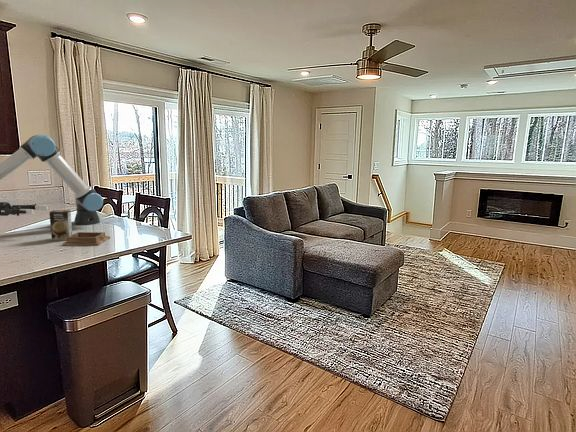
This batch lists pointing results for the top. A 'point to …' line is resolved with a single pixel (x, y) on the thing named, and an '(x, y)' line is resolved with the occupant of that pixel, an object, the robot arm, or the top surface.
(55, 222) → the coffee box
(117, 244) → the top surface
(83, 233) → the socket bay
